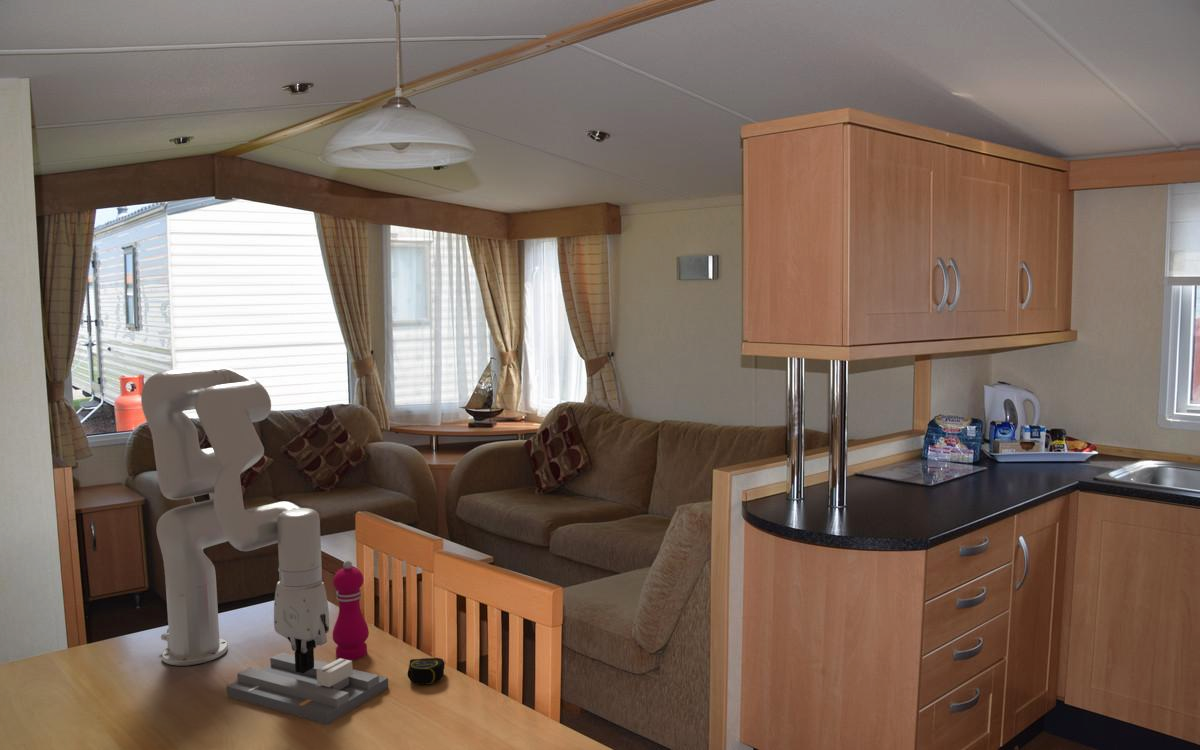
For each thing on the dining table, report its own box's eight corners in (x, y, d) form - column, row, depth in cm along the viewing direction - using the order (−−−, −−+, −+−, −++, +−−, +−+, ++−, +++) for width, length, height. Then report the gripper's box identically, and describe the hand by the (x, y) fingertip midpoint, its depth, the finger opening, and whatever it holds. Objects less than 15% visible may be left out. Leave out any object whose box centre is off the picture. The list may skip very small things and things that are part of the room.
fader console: (227, 696, 170) (226, 678, 170) (292, 664, 184) (291, 647, 184) (327, 724, 158) (326, 705, 158) (388, 687, 173) (387, 670, 172)
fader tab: (317, 692, 166) (316, 669, 165) (340, 679, 171) (339, 657, 171) (329, 695, 165) (328, 672, 164) (353, 682, 170) (352, 660, 169)
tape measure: (445, 672, 179) (444, 654, 179) (442, 687, 173) (441, 668, 172) (410, 674, 179) (409, 656, 178) (406, 689, 172) (405, 670, 172)
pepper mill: (359, 662, 184) (355, 567, 182) (327, 660, 186) (322, 565, 184) (375, 648, 191) (371, 556, 189) (343, 646, 193) (339, 554, 191)
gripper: (256, 575, 169) (260, 670, 171) (315, 587, 163) (320, 685, 164) (286, 564, 176) (291, 655, 178) (345, 575, 169) (349, 669, 171)
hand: (304, 669), depth 171 cm, fingers closed
